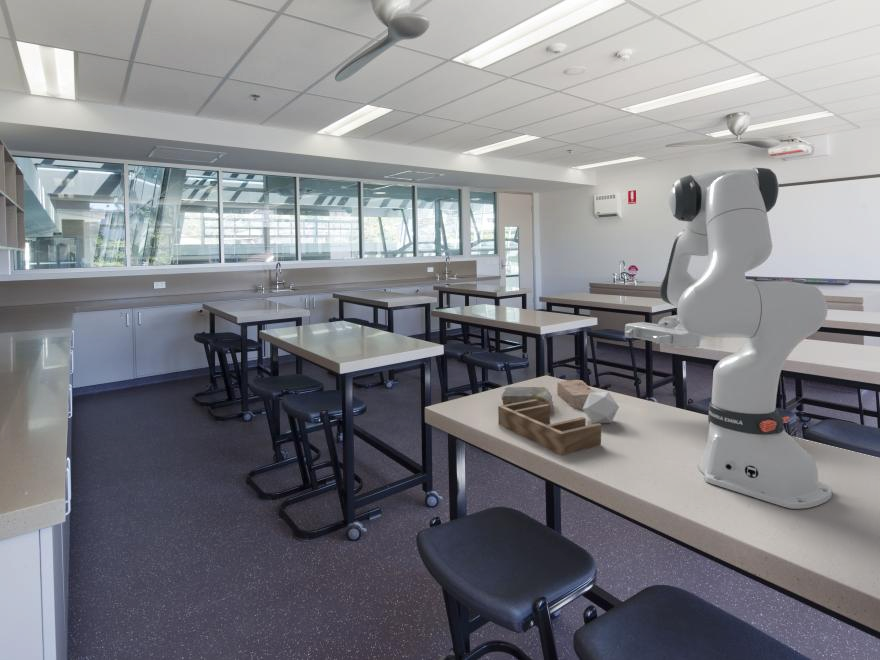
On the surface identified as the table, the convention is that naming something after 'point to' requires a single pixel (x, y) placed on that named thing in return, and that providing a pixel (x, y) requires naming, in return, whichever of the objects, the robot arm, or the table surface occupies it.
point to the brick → (574, 392)
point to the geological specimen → (527, 395)
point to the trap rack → (548, 427)
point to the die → (600, 407)
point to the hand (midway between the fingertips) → (640, 337)
